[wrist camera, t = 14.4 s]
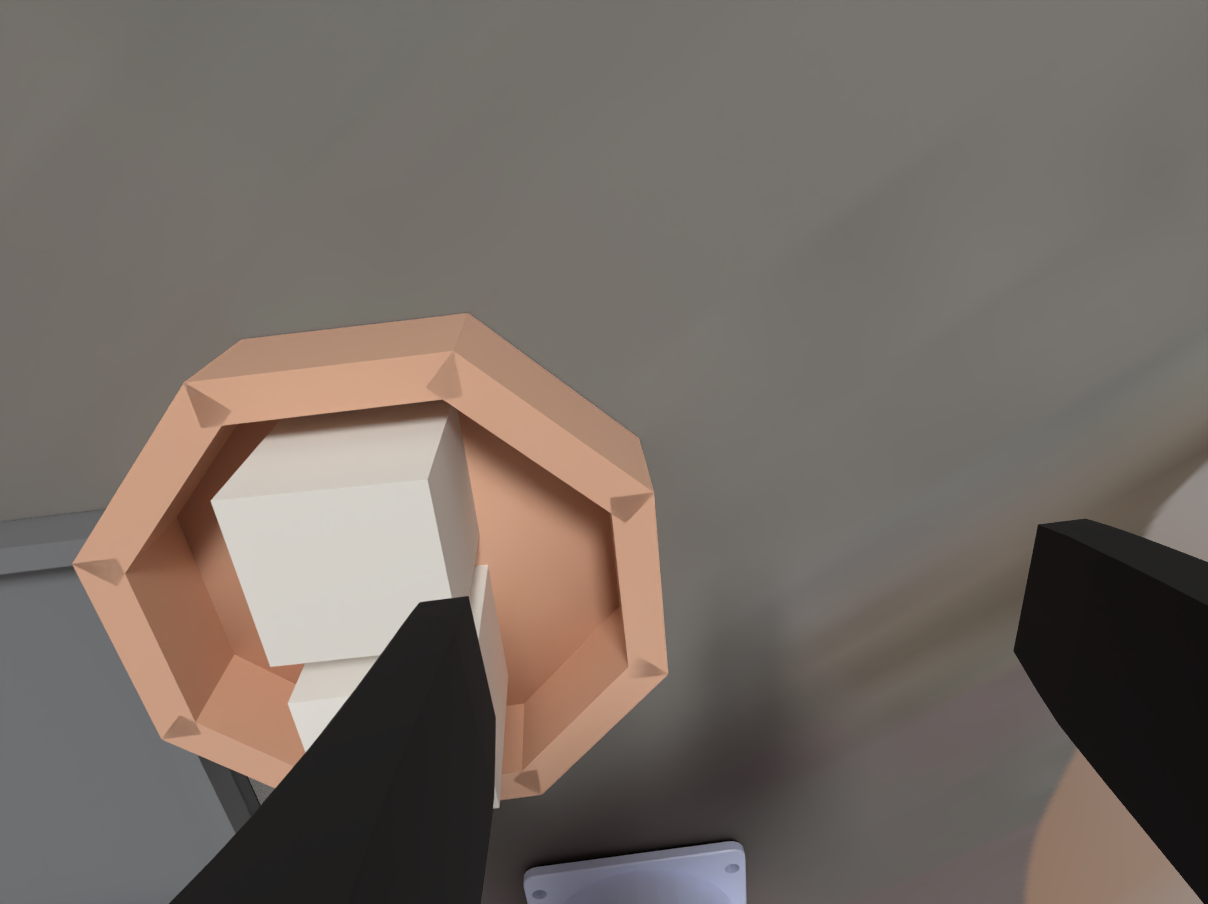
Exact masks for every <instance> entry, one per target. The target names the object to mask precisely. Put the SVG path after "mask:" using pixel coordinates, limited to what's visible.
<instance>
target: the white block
mask: <svg viewBox="0 0 1208 904" xmlns="http://www.w3.org/2000/svg"><path fill="white" fill-rule="evenodd" d="M469 600H470V605H471V609H472V614H473V618H474V623H475V627H476V631H477V636H478V640H479V645H480V649H481V654H482V658H483V663H484V667H485V672H486V676H487V681H488V685H489V689H490V694H491V698H492V703H493V707H494V712H495V716H496V746H495V790H494V804H493V809H494V808H499V807H500V792H501V777H502V763H503V748H504V733H505V718H506V703H507V688H508V671H507V666H506V660H505V655H504V649H503V644H502V638H501V633H500V627H499V622H498V616H497V611H496V605H495V599H494V594H493V588H492V583H491V577H490V572H489V566H488V565H480V566H474V572H473V578H472V585H471V591H470V597H469ZM379 656H380V655H377V656H367V657H358V658H349V659H339V660H330V661H321V662H311V663H305V665H304V667H303V669H302V672H301V674H300V676H299V679H298V681H297V683H296V685H295V688H294V690H293V692H292V695H291V697H290V699H289V701H288V706H289V709H290V712H291V714H292V717H293V720H294V722H295V725H296V728H297V731H298V733H299V736H300V739H301V742H302V744H303V747H304V750H305V753H306V751H307V750H308V749H309V748H310V746H311V745H312V744H313V743H314V741H315V740H316V739H317V738H318V736H319V735H320V734H321V733H322V731H323V730H324V729H325V727H326V726H327V725H328V724H329V722H330V721H331V720H332V718H333V717H334V716H335V715H336V713H337V712H338V711H339V709H340V708H341V707H342V705H343V704H344V703H345V702H346V700H347V699H348V698H349V696H350V695H351V694H352V692H353V691H354V690H355V689H356V687H357V686H358V685H359V683H360V682H361V681H362V679H363V678H364V677H365V675H366V674H367V672H368V671H369V670H370V668H371V667H372V666H373V664H374V663H375V662H376V660H377V659H378V657H379Z"/></svg>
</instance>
